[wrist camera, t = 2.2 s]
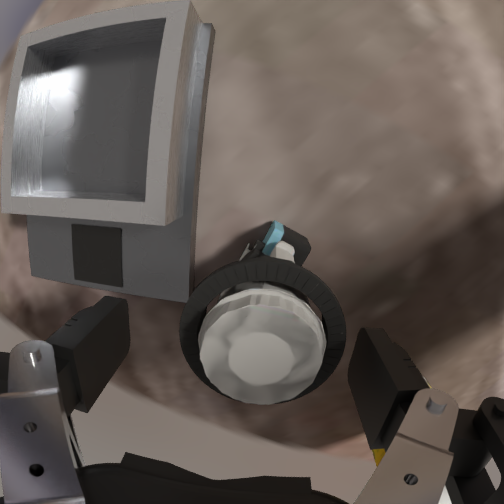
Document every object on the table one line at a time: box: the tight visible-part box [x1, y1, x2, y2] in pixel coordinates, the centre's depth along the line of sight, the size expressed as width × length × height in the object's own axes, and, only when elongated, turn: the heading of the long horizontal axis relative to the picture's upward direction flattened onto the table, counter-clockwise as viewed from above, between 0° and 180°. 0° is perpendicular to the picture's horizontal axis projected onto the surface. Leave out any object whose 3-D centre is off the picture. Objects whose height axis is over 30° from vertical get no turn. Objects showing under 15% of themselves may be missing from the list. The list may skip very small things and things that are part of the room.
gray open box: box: [1, 0, 215, 303], centre depth 15 cm, size 12×16×4 cm
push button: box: [179, 220, 346, 405], centre depth 14 cm, size 7×5×10 cm
